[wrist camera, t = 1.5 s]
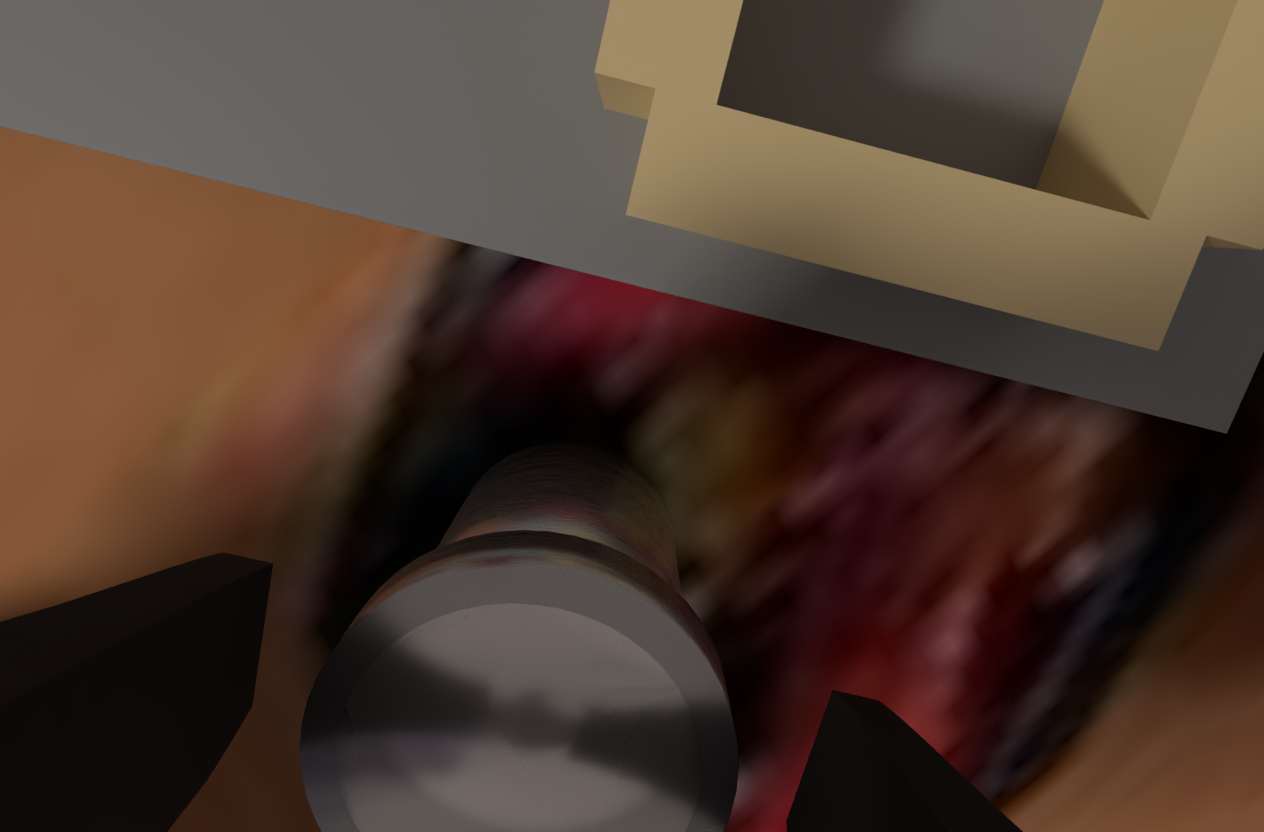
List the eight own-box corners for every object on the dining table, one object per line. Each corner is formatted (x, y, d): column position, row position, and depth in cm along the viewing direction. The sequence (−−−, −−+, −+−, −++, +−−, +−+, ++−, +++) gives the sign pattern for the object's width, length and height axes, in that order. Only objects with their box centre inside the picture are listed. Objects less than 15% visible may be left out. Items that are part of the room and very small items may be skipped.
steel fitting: (659, 686, 15) (675, 979, 9) (412, 632, 15) (272, 900, 9) (727, 455, 14) (792, 625, 8) (461, 391, 14) (336, 521, 8)
